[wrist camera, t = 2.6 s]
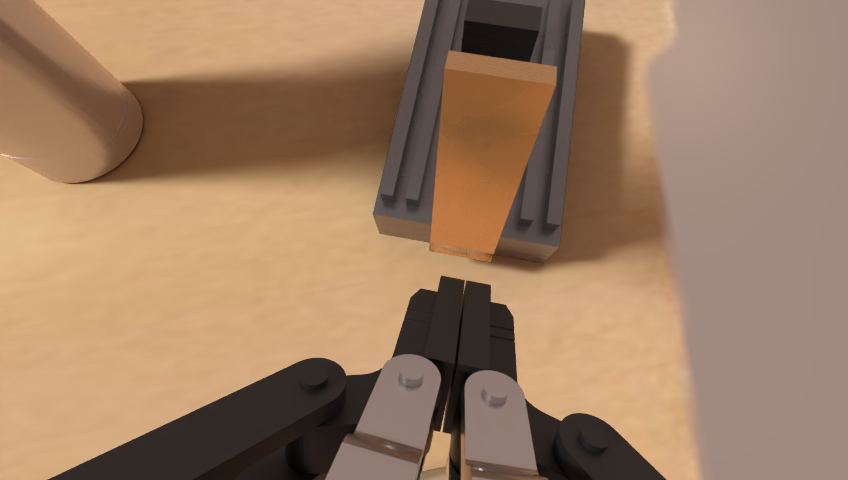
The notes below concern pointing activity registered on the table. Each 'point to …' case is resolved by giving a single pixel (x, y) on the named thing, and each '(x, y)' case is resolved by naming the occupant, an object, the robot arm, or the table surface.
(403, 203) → the grey slider box
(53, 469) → the table surface
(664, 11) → the table surface
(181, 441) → the robot arm
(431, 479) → the computer
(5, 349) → the table surface
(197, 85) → the table surface
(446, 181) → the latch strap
